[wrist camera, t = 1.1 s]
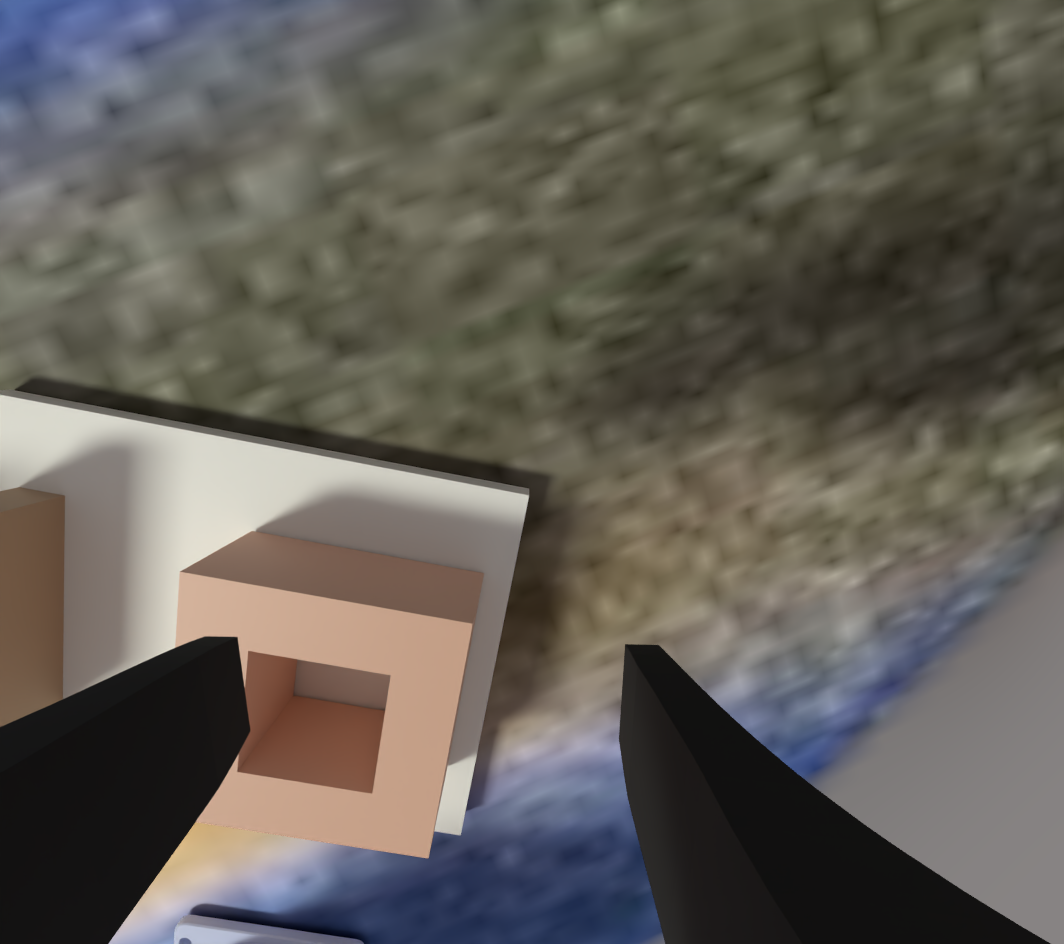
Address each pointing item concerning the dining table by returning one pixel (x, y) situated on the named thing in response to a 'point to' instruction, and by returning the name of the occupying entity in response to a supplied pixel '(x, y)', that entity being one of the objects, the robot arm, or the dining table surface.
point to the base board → (214, 547)
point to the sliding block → (327, 727)
